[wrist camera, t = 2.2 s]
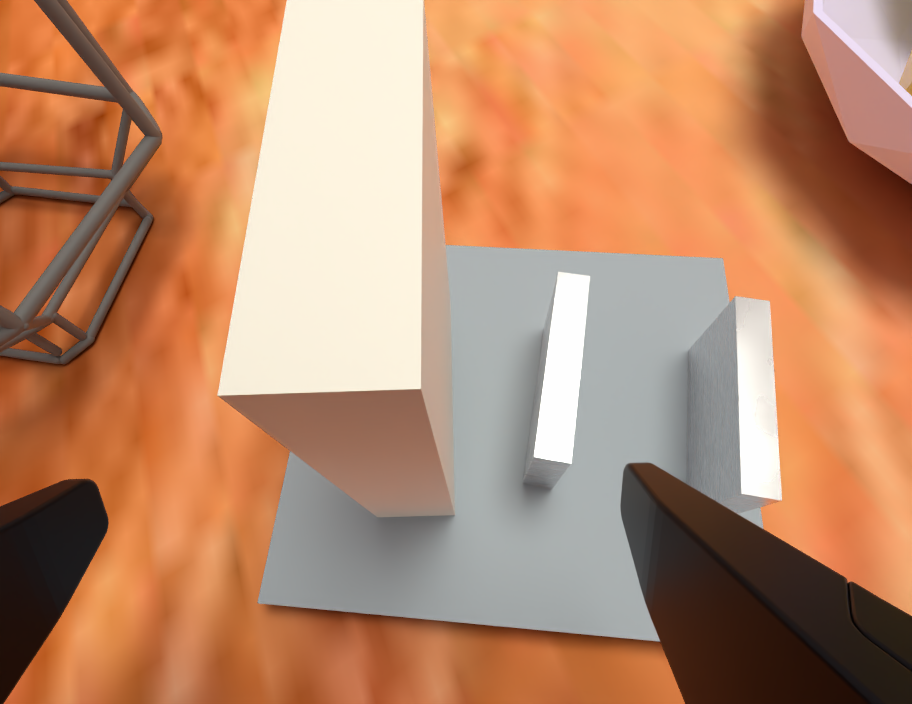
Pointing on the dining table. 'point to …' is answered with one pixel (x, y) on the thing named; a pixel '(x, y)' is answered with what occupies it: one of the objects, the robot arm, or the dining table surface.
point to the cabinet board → (519, 457)
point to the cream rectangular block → (350, 262)
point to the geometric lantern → (79, 196)
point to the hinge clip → (708, 400)
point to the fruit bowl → (866, 72)
